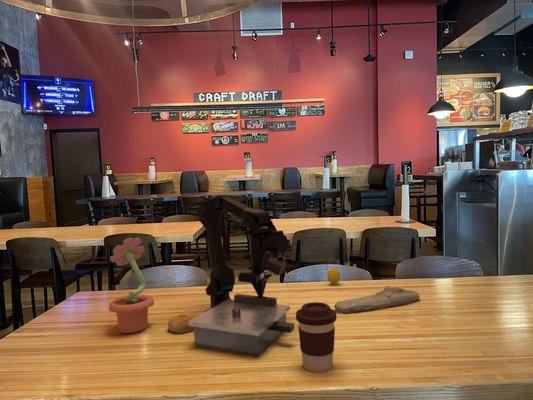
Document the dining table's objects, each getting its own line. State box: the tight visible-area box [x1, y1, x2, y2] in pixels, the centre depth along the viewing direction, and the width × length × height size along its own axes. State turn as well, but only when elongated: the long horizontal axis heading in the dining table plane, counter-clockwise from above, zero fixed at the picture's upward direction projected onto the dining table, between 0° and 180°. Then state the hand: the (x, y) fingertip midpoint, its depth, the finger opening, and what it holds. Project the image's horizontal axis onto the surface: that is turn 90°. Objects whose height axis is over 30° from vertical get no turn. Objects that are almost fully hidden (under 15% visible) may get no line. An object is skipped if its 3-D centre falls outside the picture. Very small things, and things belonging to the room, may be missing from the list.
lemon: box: [326, 266, 341, 286], centre depth 170 cm, size 6×6×8 cm
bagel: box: [167, 313, 197, 334], centre depth 126 cm, size 10×11×5 cm
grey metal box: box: [193, 312, 295, 358], centre depth 115 cm, size 26×20×6 cm
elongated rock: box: [334, 285, 420, 315], centre depth 142 cm, size 35×5×10 cm
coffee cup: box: [295, 301, 338, 373], centre depth 97 cm, size 10×10×15 cm
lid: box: [189, 293, 291, 336], centre depth 116 cm, size 22×22×4 cm
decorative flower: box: [108, 237, 157, 334], centre depth 126 cm, size 15×14×30 cm
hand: (260, 297), depth 128 cm, fingers closed
